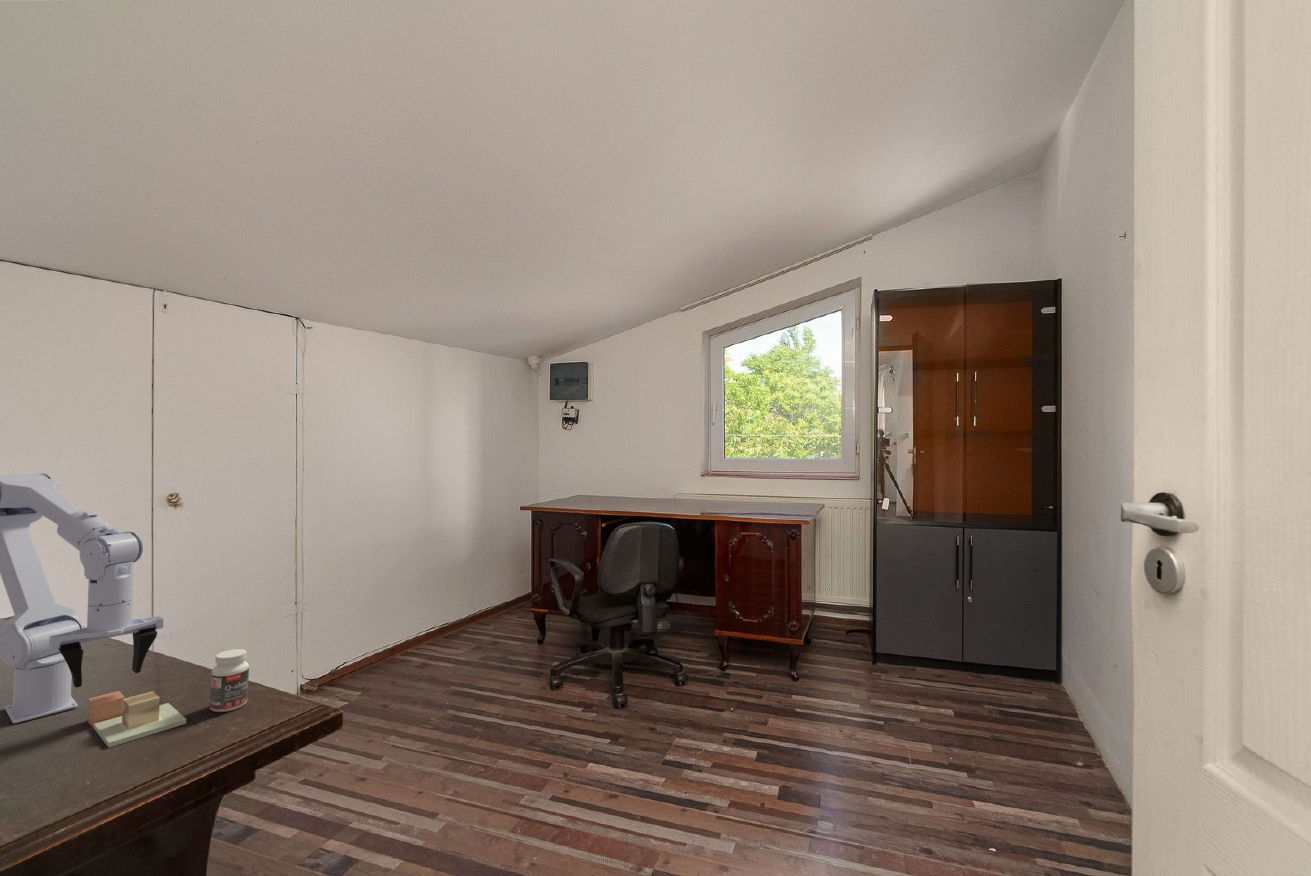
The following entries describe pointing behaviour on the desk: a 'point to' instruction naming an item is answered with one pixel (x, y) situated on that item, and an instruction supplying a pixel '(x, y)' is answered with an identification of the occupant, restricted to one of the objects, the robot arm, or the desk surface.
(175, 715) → the board
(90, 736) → the desk surface
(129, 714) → the beech cube
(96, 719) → the terracotta cube
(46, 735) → the desk surface
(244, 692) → the pill bottle
